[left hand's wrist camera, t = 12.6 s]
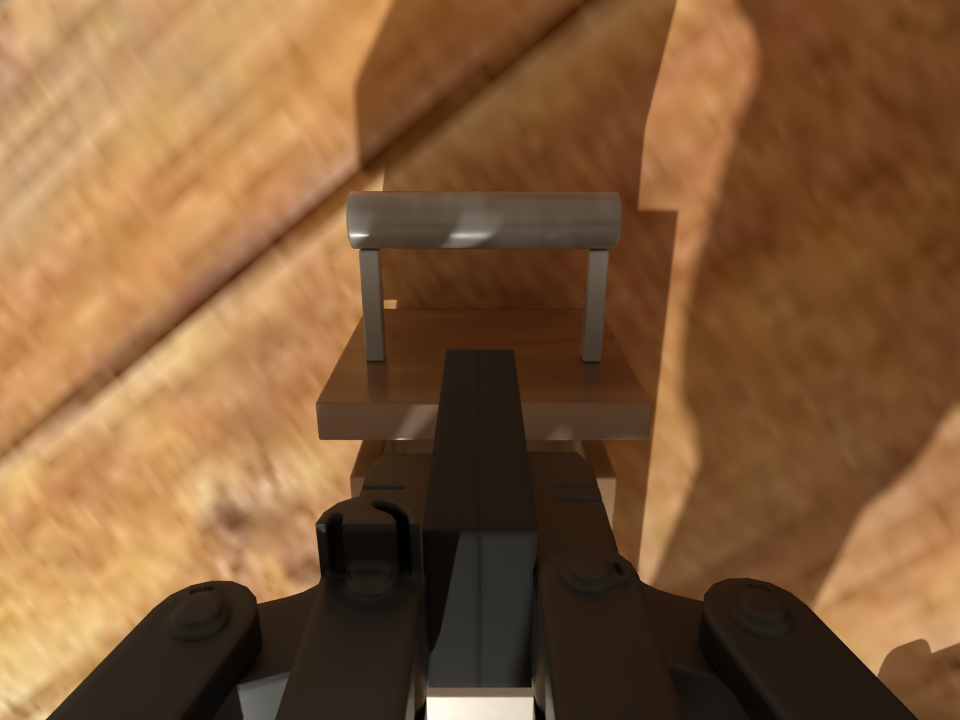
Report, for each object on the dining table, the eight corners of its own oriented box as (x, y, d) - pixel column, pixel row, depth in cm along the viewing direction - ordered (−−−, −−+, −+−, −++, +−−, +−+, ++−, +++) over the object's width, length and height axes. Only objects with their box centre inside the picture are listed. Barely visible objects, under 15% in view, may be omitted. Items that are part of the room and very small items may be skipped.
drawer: (356, 171, 25) (295, 209, 17) (610, 171, 25) (674, 210, 17) (386, 641, 33) (356, 820, 25) (576, 641, 33) (607, 820, 25)
